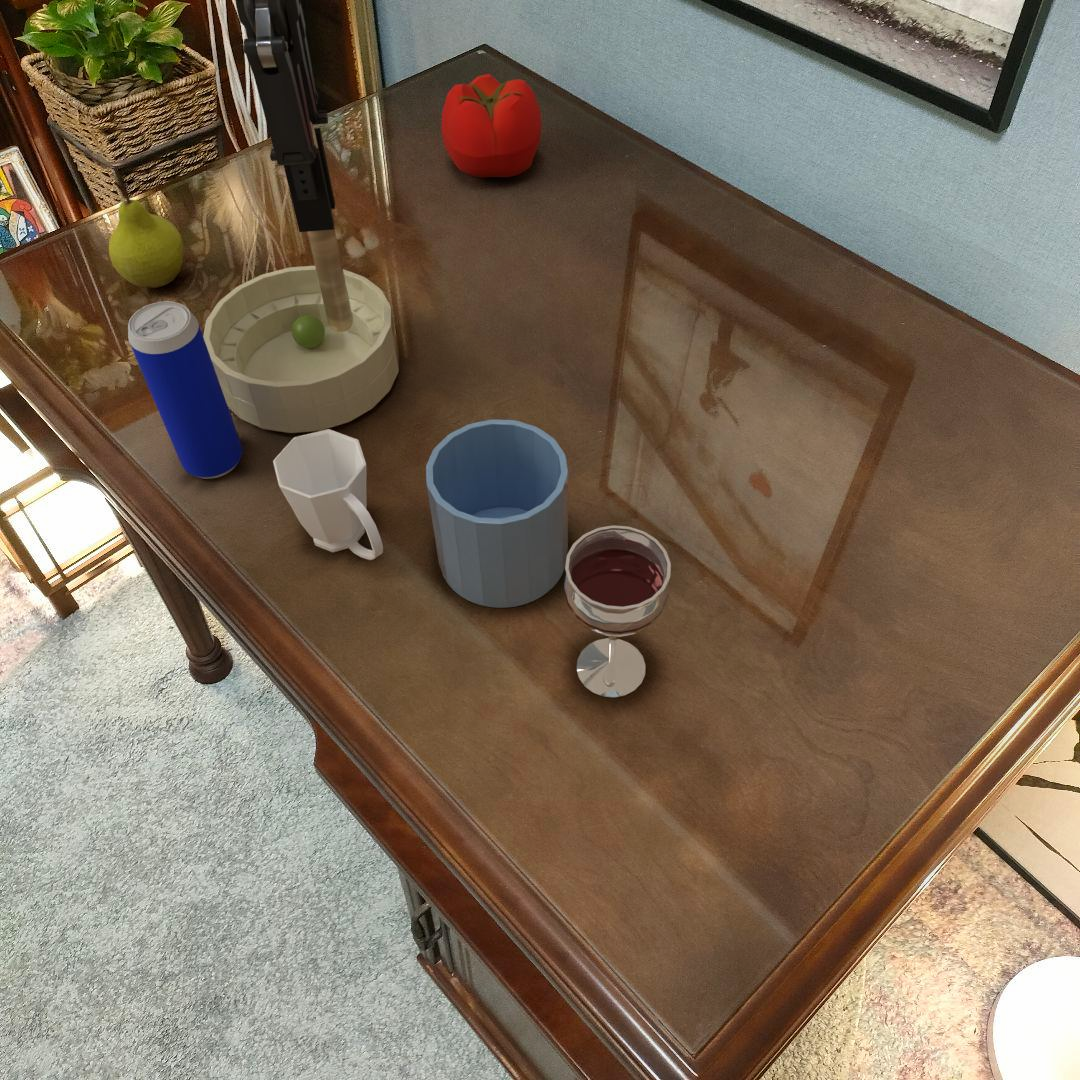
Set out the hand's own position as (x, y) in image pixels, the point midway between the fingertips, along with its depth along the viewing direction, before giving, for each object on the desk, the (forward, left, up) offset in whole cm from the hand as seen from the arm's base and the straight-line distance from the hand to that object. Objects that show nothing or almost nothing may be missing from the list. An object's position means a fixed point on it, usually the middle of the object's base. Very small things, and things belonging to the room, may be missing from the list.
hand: (317, 217), depth 81 cm
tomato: (+15, +33, -16) cm, 40 cm away
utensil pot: (+12, -23, -16) cm, 31 cm away
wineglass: (+19, -34, -16) cm, 43 cm away
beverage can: (-11, -10, -16) cm, 22 cm away
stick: (0, 0, -11) cm, 11 cm away
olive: (-4, +3, -14) cm, 15 cm away
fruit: (-20, +16, -16) cm, 30 cm away
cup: (0, -20, -16) cm, 26 cm away
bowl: (-4, 0, -16) cm, 17 cm away
